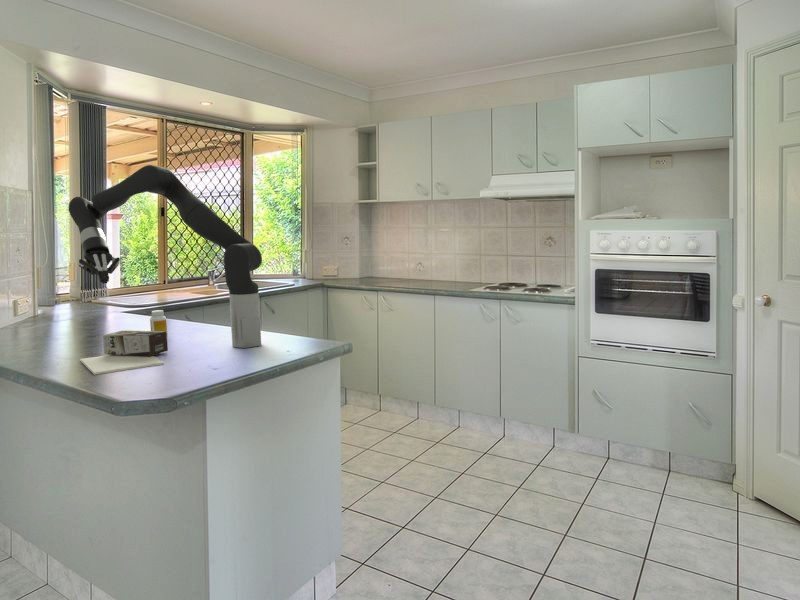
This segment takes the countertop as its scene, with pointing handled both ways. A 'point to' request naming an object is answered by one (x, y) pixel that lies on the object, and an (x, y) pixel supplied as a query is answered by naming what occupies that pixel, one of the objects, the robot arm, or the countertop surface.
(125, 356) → the cream board
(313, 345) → the countertop surface
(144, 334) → the coffee box
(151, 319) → the supplement bottle
